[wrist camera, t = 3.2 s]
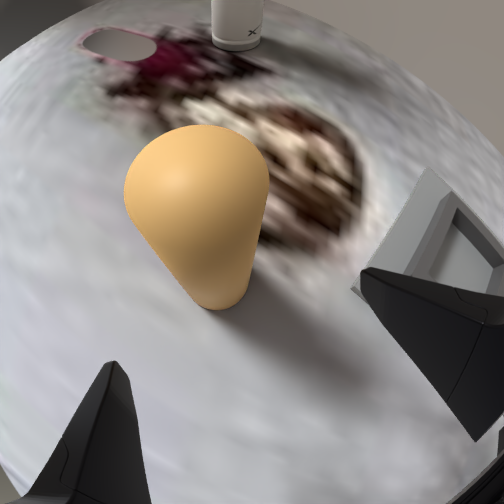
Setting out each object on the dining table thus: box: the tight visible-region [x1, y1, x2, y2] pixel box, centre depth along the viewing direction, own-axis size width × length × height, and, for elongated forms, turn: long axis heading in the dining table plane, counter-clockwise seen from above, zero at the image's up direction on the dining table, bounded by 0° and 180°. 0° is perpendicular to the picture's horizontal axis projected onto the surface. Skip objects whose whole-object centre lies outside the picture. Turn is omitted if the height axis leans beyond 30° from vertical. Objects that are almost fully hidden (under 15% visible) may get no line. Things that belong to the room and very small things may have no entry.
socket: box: [350, 167, 504, 303], centre depth 21 cm, size 16×16×3 cm
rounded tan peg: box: [124, 125, 269, 310], centre depth 15 cm, size 5×5×13 cm
